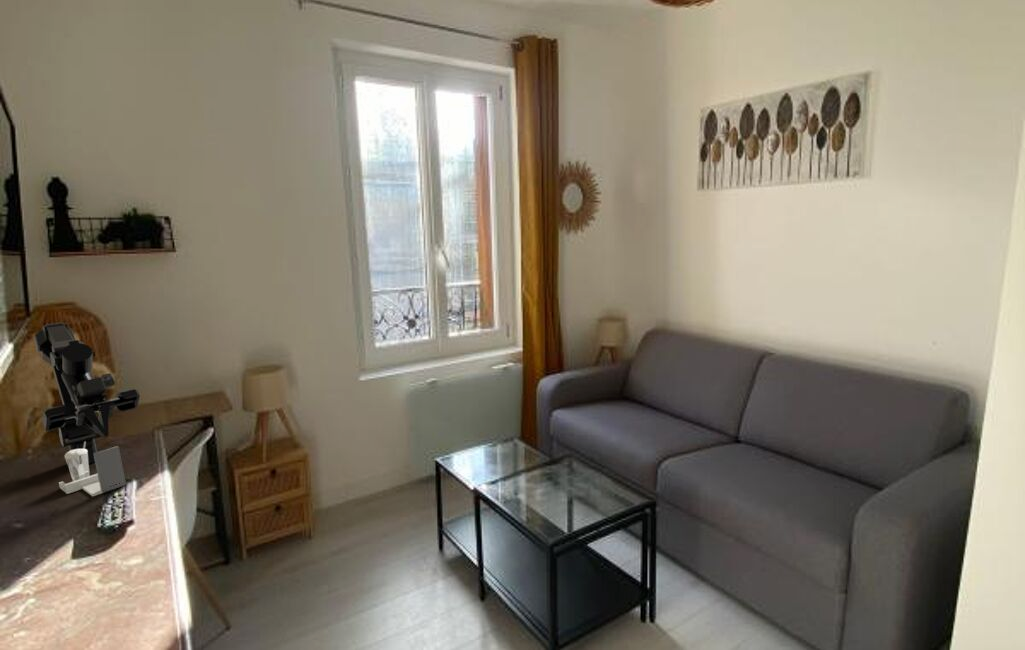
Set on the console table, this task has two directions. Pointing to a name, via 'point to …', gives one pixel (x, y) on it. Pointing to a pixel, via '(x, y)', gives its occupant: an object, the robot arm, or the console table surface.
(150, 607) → the console table surface
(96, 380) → the robot arm
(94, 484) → the white bracket
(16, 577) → the console table surface
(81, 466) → the milkshake
